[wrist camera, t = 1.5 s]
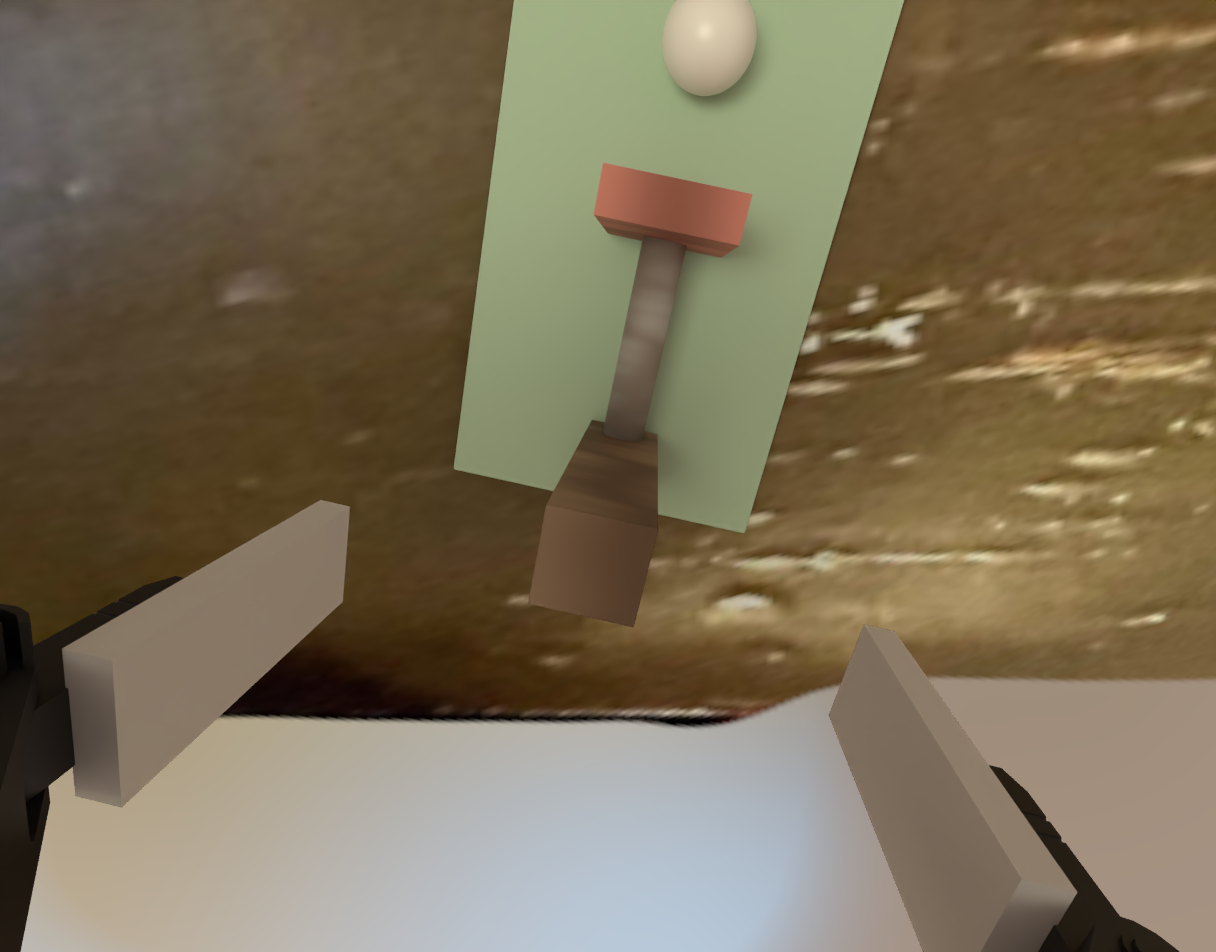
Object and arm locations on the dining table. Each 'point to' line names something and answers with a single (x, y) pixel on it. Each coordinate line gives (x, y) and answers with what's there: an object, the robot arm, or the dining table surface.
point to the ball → (708, 43)
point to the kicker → (628, 402)
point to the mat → (606, 264)
